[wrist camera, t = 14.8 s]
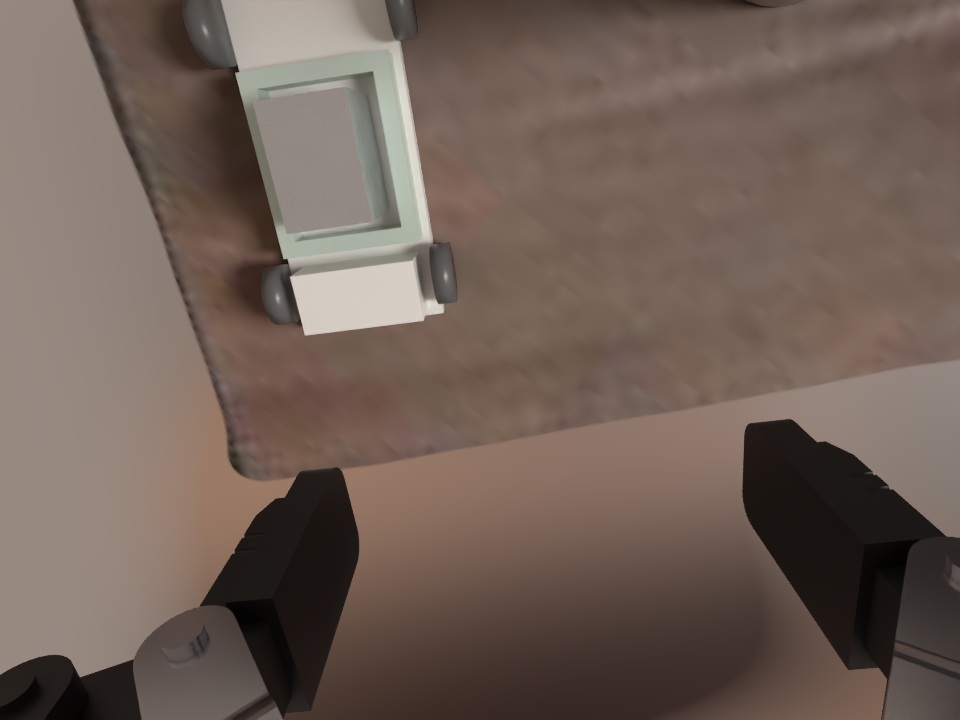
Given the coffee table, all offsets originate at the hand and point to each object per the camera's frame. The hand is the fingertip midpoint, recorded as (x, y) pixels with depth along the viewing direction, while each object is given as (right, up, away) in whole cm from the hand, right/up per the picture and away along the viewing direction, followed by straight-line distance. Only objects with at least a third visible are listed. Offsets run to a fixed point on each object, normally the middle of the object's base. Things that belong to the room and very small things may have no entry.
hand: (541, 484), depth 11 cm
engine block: (-10, +15, +25) cm, 31 cm away
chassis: (-10, +16, +26) cm, 32 cm away
